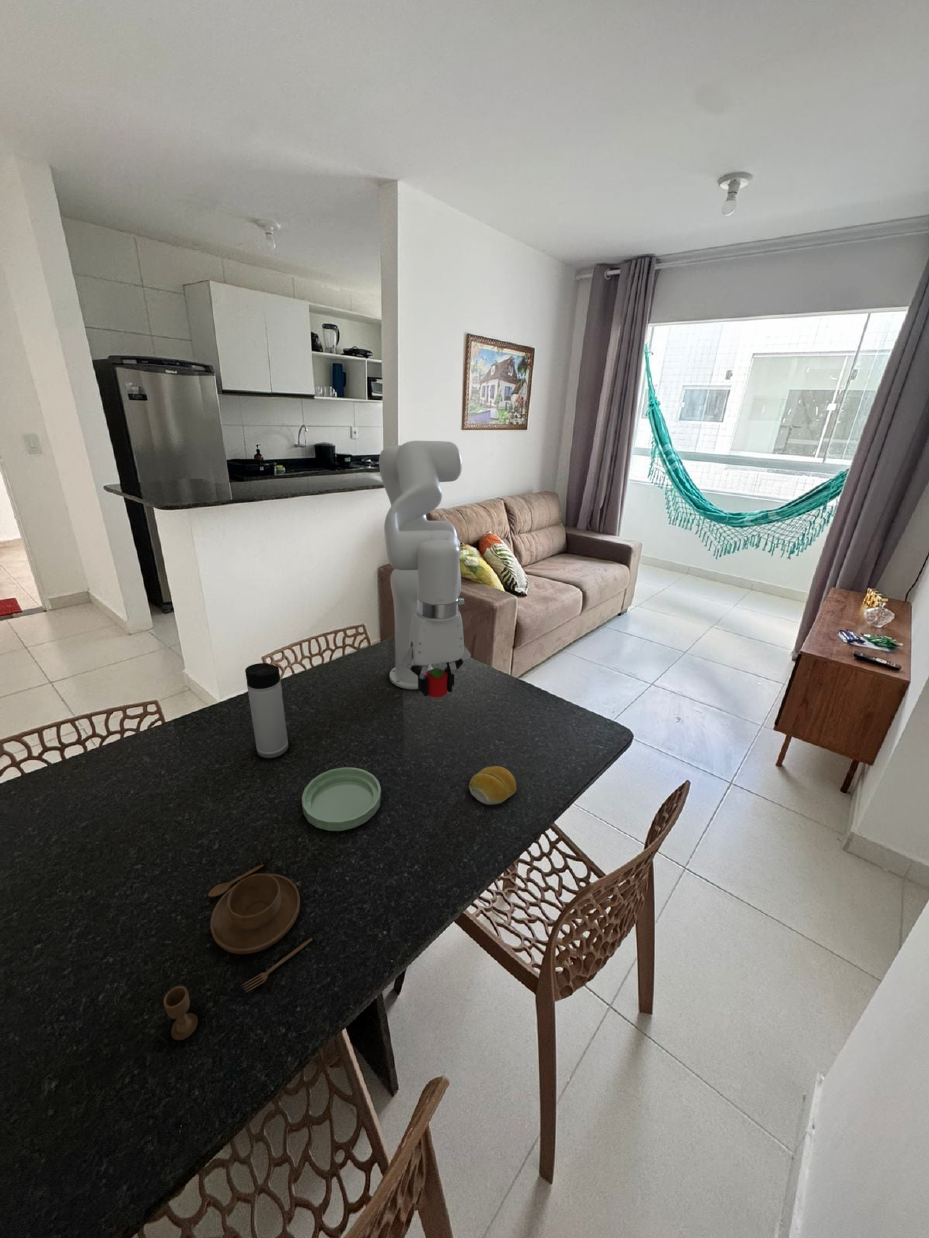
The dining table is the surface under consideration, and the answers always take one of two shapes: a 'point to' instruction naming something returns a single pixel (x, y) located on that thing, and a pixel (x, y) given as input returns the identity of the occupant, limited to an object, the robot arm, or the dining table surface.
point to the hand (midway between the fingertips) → (436, 689)
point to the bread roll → (492, 785)
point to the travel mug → (267, 709)
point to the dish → (341, 799)
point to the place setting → (243, 931)
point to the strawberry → (437, 682)
